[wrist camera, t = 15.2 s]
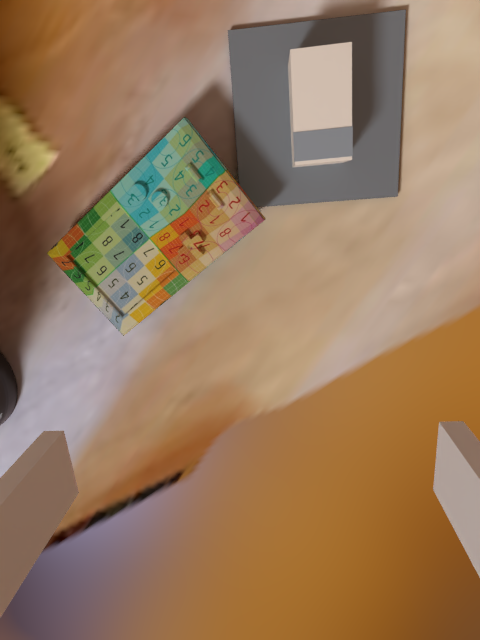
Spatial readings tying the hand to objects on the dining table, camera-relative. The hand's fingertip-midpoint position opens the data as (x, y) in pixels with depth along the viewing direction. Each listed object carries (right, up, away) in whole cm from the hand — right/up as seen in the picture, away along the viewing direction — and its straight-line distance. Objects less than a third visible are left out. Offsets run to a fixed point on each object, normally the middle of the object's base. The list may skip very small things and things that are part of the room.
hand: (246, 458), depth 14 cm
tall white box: (+7, +25, +25) cm, 36 cm away
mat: (+7, +25, +26) cm, 36 cm away
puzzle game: (-9, +15, +30) cm, 35 cm away
